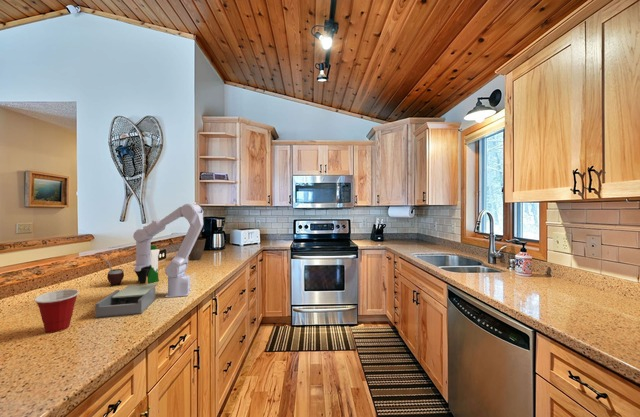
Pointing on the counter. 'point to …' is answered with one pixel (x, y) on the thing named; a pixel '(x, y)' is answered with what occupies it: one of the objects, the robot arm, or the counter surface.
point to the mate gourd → (115, 276)
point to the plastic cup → (57, 309)
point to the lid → (135, 290)
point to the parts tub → (123, 305)
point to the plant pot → (197, 249)
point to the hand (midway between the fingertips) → (143, 283)
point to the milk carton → (153, 265)
